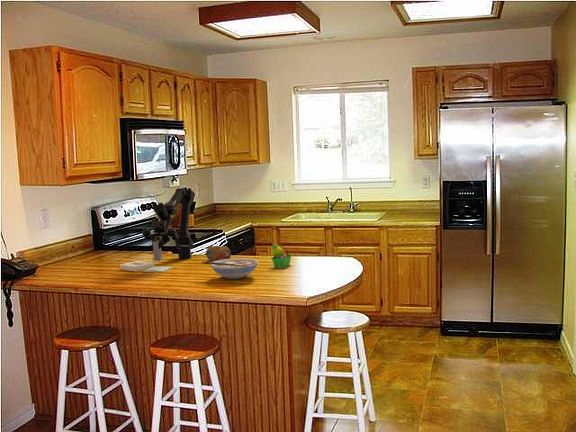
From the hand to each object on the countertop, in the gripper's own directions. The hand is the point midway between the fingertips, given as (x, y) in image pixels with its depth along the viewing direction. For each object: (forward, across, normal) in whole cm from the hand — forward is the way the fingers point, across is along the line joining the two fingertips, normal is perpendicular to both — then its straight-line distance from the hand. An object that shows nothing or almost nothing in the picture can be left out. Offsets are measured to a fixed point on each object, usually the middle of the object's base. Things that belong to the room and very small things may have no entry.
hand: (156, 248), depth 323 cm
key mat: (+7, 0, +9) cm, 12 cm away
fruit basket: (-2, +62, +19) cm, 65 cm away
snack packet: (-11, +24, +28) cm, 38 cm away
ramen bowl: (+19, +48, -2) cm, 51 cm away
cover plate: (+5, -14, +11) cm, 18 cm away
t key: (+4, 0, +6) cm, 7 cm away
